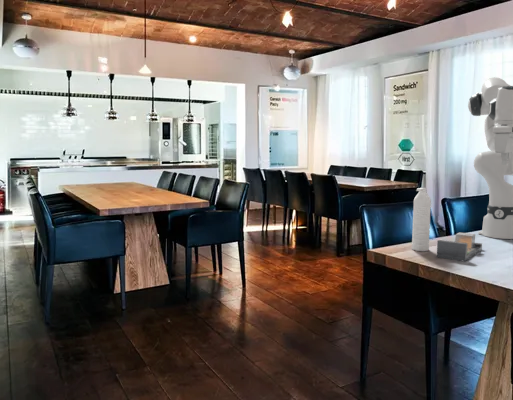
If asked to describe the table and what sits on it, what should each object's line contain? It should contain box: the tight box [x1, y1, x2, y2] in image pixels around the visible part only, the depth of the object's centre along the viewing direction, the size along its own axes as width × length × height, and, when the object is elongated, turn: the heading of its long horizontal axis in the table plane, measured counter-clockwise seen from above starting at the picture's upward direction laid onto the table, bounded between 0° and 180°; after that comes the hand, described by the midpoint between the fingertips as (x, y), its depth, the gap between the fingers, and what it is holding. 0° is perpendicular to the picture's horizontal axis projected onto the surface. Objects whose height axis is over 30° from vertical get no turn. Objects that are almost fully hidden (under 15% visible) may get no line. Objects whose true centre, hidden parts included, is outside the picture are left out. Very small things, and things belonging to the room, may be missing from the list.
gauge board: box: [436, 239, 483, 262], centre depth 177 cm, size 24×10×6 cm, turn 141°
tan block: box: [454, 232, 476, 249], centre depth 181 cm, size 5×6×5 cm
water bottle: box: [411, 187, 432, 252], centre depth 180 cm, size 9×6×25 cm
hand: (504, 164), depth 177 cm, fingers closed
